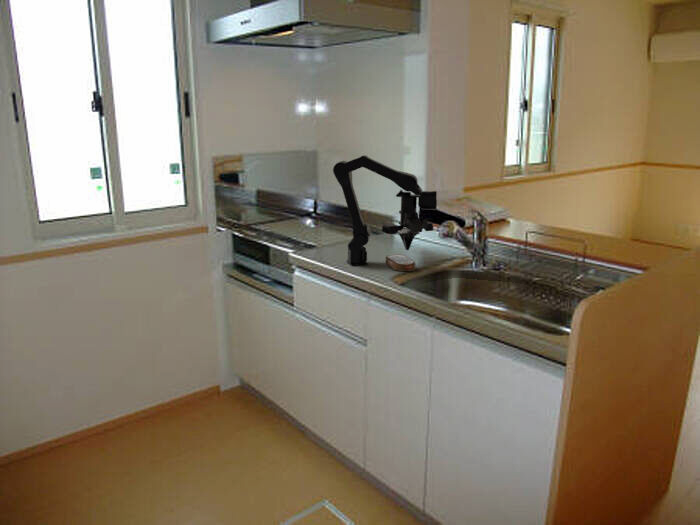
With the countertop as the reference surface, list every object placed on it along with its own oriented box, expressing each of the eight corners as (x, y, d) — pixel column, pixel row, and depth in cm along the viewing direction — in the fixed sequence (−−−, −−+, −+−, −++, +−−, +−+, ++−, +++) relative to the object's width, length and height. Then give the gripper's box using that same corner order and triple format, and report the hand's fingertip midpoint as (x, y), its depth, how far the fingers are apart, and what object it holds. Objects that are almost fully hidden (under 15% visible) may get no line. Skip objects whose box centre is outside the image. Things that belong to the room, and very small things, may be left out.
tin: (401, 259, 214) (381, 262, 211) (401, 251, 213) (381, 255, 210) (419, 269, 200) (398, 273, 198) (419, 261, 199) (398, 265, 197)
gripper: (394, 214, 190) (393, 257, 195) (441, 211, 197) (439, 253, 201) (382, 208, 200) (381, 250, 205) (427, 206, 207) (425, 246, 211)
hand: (407, 249), depth 205 cm, fingers closed
